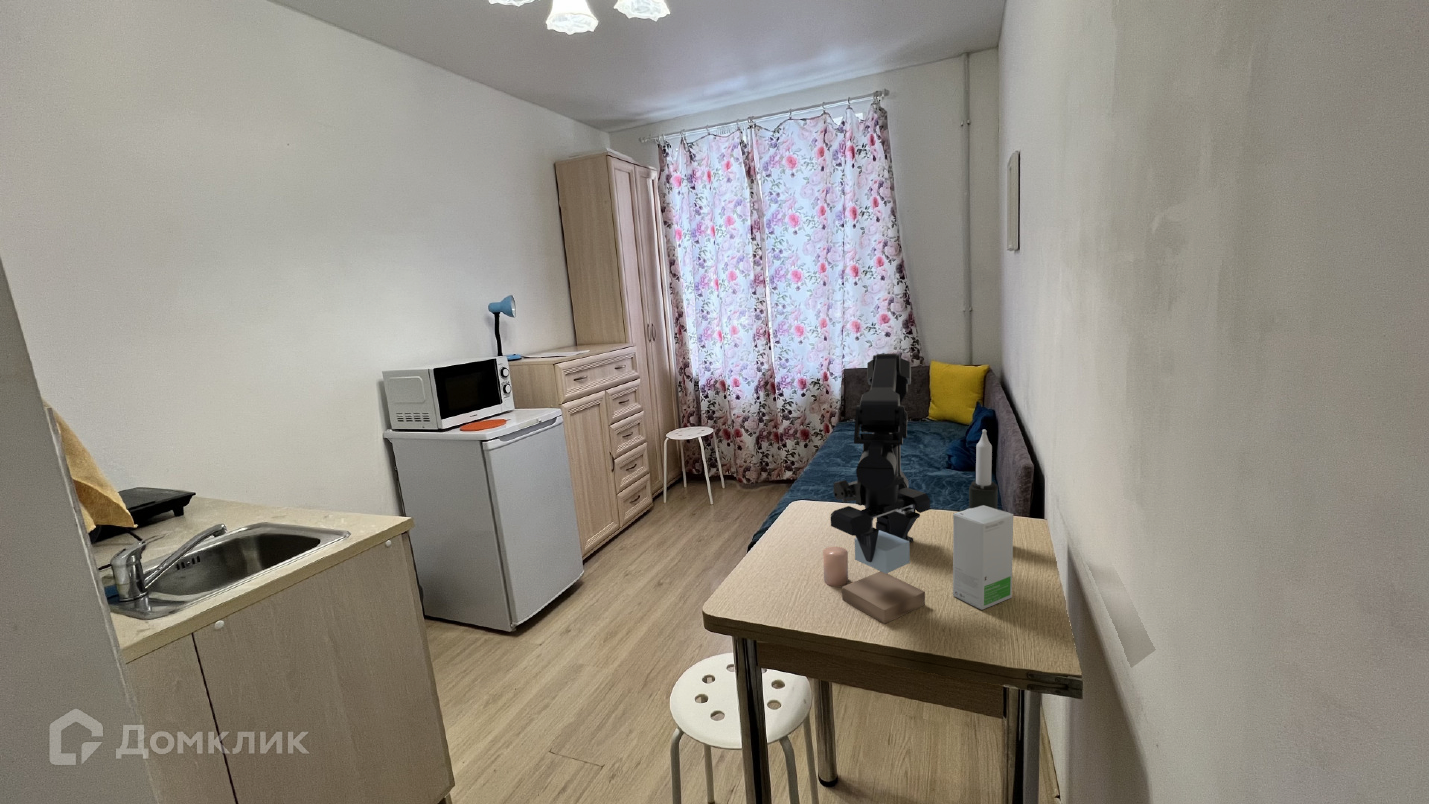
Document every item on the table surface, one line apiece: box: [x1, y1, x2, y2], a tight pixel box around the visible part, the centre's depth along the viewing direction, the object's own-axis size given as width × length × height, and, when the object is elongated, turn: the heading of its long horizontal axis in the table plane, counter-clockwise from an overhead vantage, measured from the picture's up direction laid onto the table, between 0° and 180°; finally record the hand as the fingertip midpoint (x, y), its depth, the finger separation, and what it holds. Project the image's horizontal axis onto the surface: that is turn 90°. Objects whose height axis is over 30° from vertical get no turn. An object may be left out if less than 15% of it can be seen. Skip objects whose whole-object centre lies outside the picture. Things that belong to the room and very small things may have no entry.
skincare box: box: [952, 505, 1015, 610], centre depth 103 cm, size 8×7×16 cm
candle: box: [968, 429, 999, 509], centre depth 122 cm, size 5×5×25 cm
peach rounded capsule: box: [822, 546, 849, 588], centre depth 113 cm, size 5×5×6 cm
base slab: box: [841, 571, 926, 625], centre depth 104 cm, size 10×10×2 cm
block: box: [854, 530, 911, 574], centre depth 103 cm, size 6×7×4 cm
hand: (882, 556), depth 103 cm, fingers closed on block, 6 cm apart
